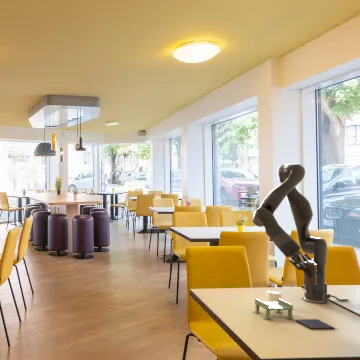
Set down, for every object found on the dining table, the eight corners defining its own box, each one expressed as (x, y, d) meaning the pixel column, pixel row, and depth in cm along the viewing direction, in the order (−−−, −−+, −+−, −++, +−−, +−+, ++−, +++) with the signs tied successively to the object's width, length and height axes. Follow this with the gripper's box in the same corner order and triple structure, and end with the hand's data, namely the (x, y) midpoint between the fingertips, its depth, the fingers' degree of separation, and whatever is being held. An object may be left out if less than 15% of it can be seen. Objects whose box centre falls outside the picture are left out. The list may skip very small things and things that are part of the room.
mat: (317, 320, 174) (317, 319, 174) (334, 329, 164) (334, 327, 164) (295, 320, 173) (295, 319, 173) (311, 329, 163) (311, 327, 163)
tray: (279, 311, 185) (279, 298, 185) (292, 319, 175) (292, 304, 176) (254, 312, 185) (254, 298, 185) (267, 319, 175) (267, 305, 175)
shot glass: (283, 308, 191) (283, 294, 191) (268, 307, 192) (268, 293, 192) (279, 304, 197) (279, 290, 197) (264, 303, 199) (264, 289, 199)
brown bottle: (311, 282, 173) (311, 260, 173) (319, 285, 168) (319, 262, 168) (301, 282, 172) (301, 260, 172) (308, 285, 168) (308, 262, 168)
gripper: (284, 240, 172) (313, 273, 162) (299, 238, 180) (329, 268, 170) (272, 250, 177) (300, 282, 167) (287, 247, 185) (315, 278, 175)
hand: (314, 275), depth 169 cm, fingers closed on brown bottle, 5 cm apart
